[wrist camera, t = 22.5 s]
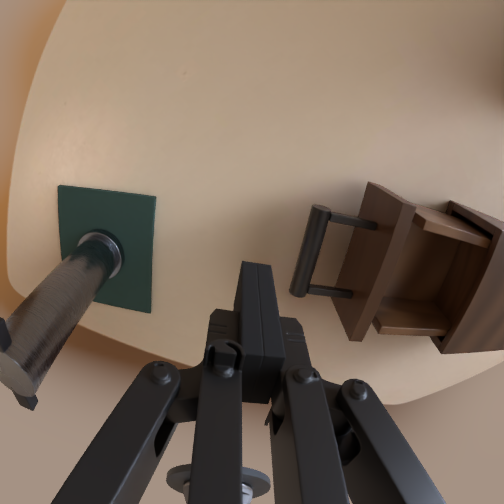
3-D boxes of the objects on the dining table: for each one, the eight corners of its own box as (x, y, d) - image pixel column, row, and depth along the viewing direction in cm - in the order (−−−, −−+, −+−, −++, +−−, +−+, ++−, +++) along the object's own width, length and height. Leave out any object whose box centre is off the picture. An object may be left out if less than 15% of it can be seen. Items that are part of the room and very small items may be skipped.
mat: (151, 311, 29) (150, 313, 29) (68, 293, 28) (66, 295, 28) (156, 196, 24) (155, 197, 24) (59, 184, 23) (57, 185, 23)
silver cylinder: (125, 288, 27) (56, 421, 13) (83, 279, 27) (0, 395, 12) (125, 220, 25) (19, 340, 10) (79, 214, 24) (-39, 313, 10)
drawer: (277, 290, 27) (286, 336, 22) (309, 166, 23) (330, 183, 17) (428, 308, 29) (455, 343, 23) (467, 213, 24) (506, 237, 19)
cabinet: (407, 306, 30) (441, 354, 23) (450, 200, 25) (502, 230, 17) (478, 312, 31) (510, 349, 24) (516, 227, 26) (558, 255, 19)
